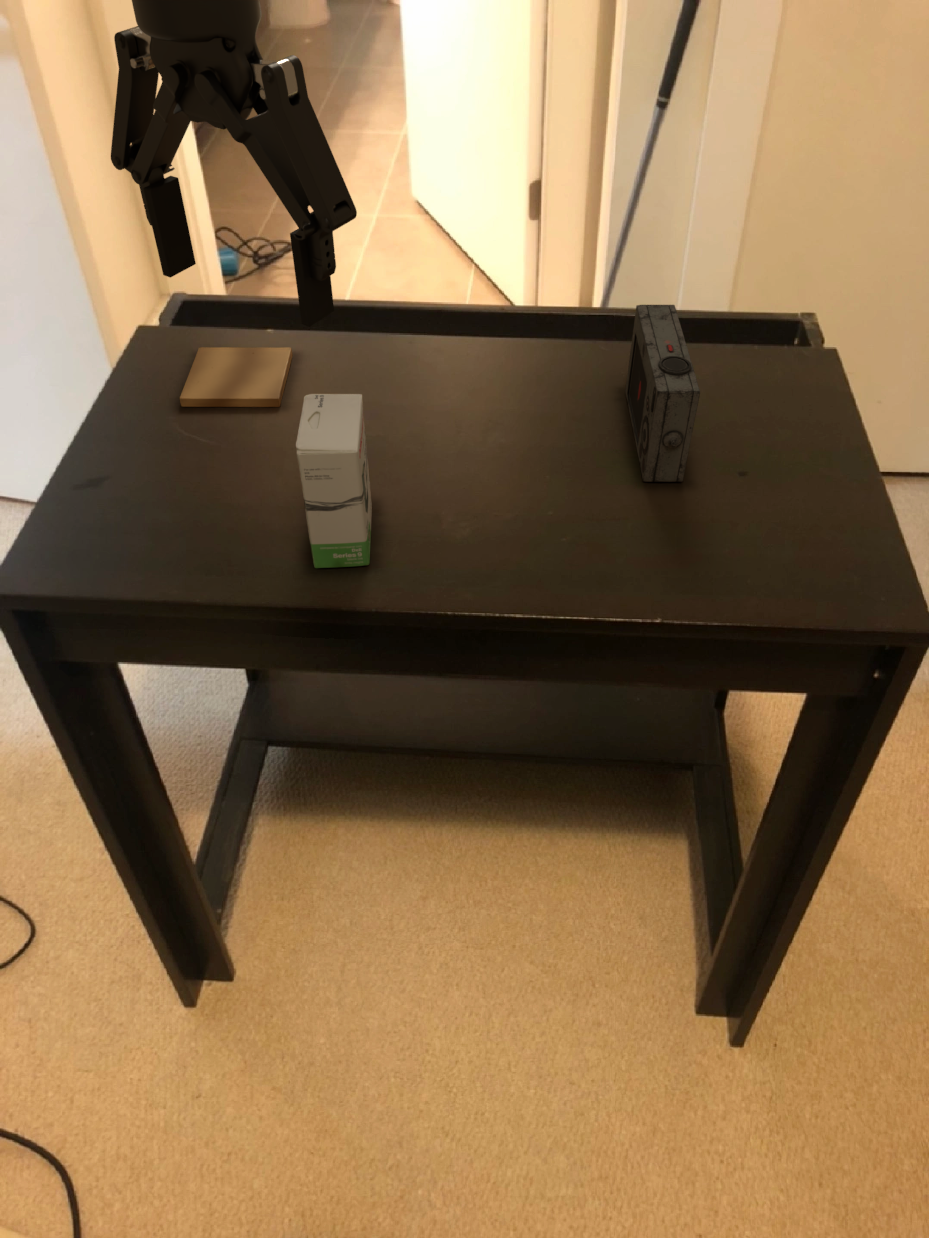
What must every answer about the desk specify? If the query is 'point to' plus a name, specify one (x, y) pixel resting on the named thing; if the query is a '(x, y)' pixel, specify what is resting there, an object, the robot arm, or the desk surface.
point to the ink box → (335, 479)
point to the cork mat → (237, 377)
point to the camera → (661, 393)
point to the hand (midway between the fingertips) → (246, 293)
